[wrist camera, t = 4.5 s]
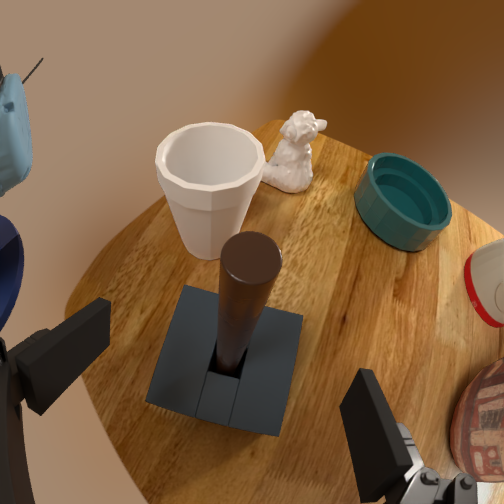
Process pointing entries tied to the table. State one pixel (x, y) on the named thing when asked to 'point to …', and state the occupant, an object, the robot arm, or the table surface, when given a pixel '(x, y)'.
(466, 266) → the kitchen timer
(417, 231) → the bowl
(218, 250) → the foam cup
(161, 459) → the table surface
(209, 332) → the holder
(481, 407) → the pottery
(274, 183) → the white creature statuette
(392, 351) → the table surface
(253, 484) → the table surface
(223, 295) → the brown rod
